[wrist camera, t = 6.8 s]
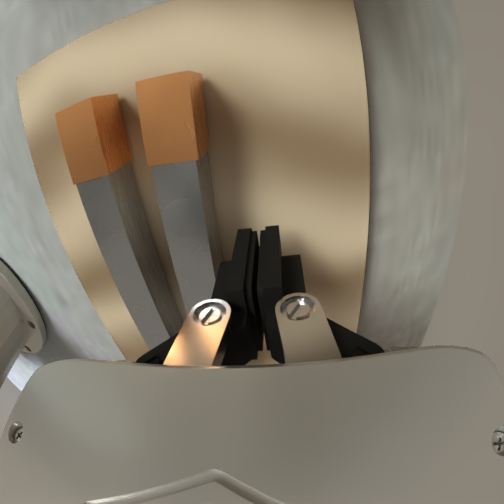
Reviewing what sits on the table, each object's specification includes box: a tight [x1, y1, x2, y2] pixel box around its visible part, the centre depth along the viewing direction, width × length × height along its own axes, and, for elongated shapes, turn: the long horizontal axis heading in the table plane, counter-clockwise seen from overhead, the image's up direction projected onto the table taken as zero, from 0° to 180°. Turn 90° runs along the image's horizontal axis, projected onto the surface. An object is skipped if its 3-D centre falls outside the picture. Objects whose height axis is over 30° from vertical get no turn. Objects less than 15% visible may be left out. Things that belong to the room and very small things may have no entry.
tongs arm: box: [135, 70, 223, 315], centre depth 14 cm, size 20×3×2 cm, turn 4°
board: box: [16, 0, 370, 365], centre depth 15 cm, size 26×16×1 cm, turn 8°
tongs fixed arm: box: [55, 94, 184, 350], centre depth 13 cm, size 18×2×2 cm, turn 8°
